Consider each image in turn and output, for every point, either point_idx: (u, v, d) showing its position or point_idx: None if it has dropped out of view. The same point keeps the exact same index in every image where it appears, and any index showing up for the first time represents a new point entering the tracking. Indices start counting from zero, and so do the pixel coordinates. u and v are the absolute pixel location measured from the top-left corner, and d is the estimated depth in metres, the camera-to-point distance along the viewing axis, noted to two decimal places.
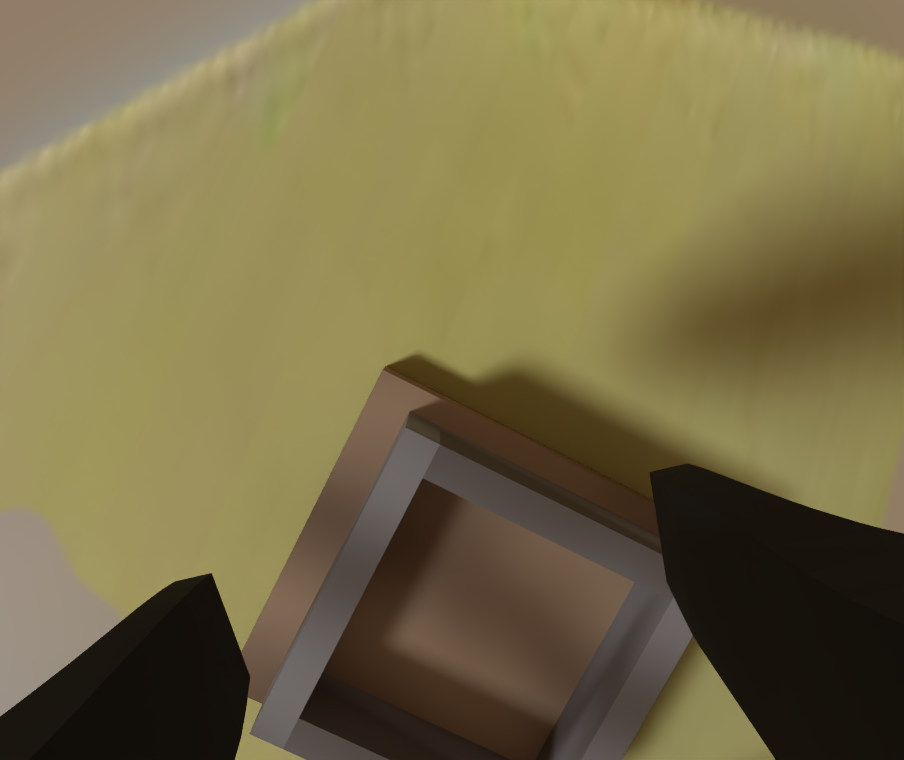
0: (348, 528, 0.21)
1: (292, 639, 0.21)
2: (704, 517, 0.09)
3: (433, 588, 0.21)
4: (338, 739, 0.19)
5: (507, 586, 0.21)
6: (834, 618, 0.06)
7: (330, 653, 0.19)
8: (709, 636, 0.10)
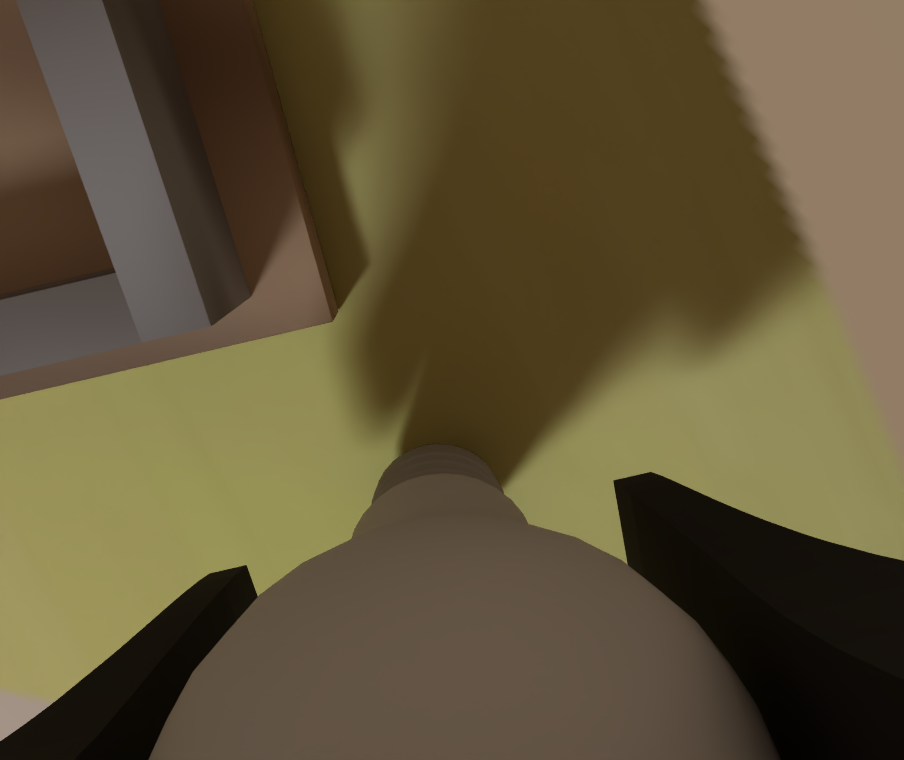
0: None
1: None
2: (660, 528, 0.09)
3: None
4: None
5: None
6: (770, 633, 0.06)
7: None
8: None
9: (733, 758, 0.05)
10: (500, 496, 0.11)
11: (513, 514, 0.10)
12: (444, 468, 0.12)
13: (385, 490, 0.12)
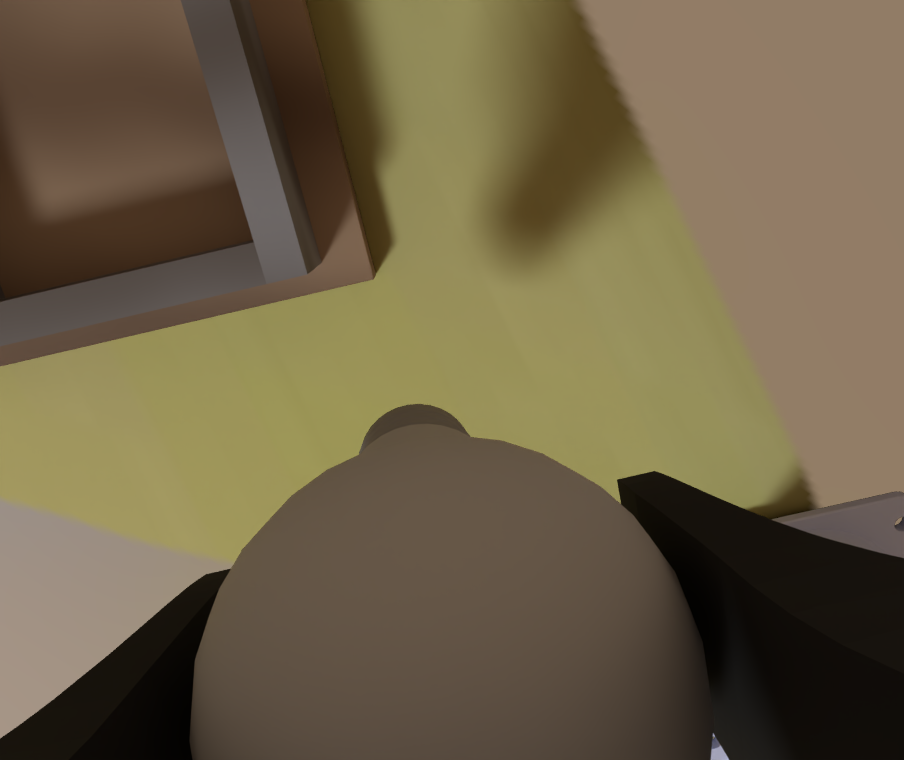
0: None
1: None
2: (664, 526, 0.09)
3: (22, 128, 0.18)
4: None
5: (83, 65, 0.17)
6: (777, 631, 0.06)
7: None
8: None
9: (654, 591, 0.07)
10: None
11: None
12: (426, 421, 0.14)
13: (374, 440, 0.14)
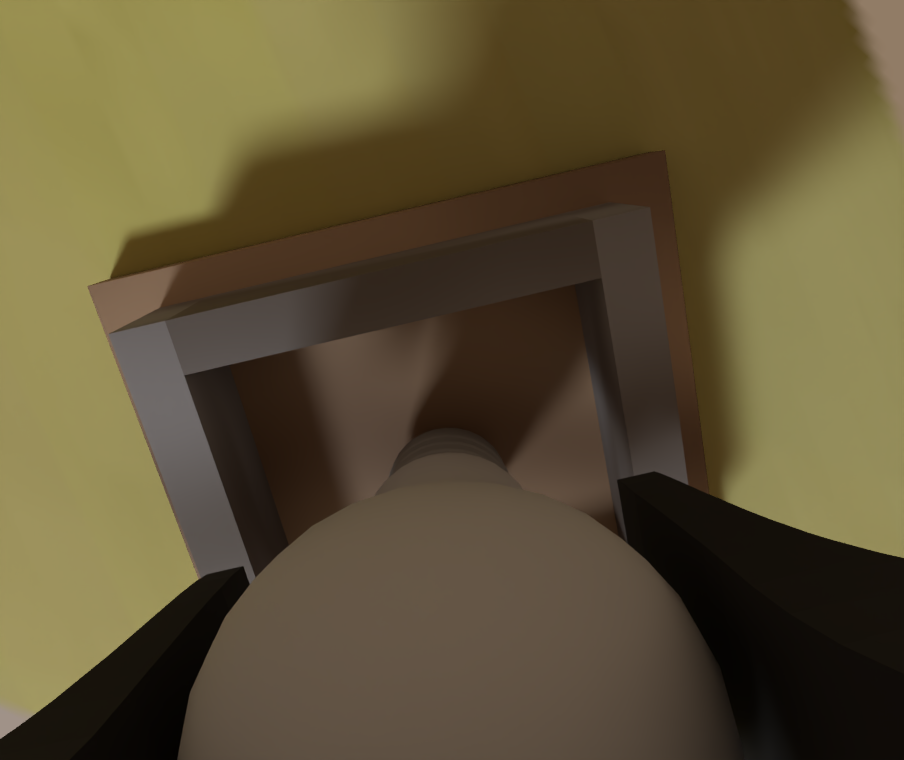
0: None
1: None
2: (664, 527, 0.09)
3: (361, 472, 0.16)
4: None
5: (437, 408, 0.15)
6: (777, 631, 0.06)
7: None
8: None
9: (660, 661, 0.06)
10: (498, 470, 0.12)
11: (509, 485, 0.12)
12: (449, 448, 0.13)
13: (397, 471, 0.13)
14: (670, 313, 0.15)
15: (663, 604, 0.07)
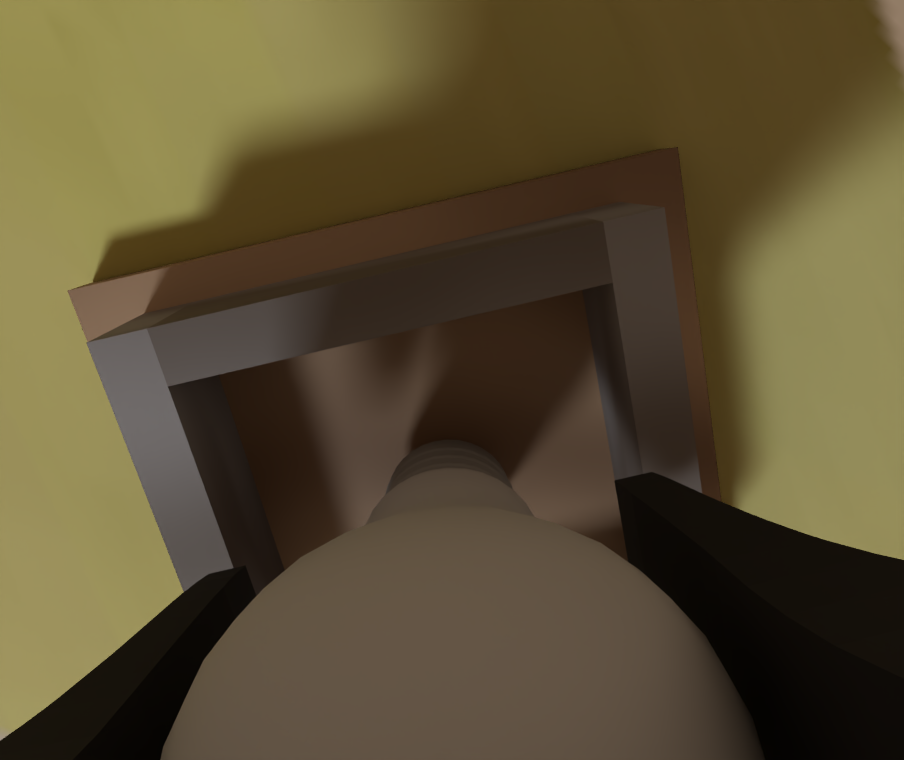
0: None
1: None
2: (661, 527, 0.09)
3: (357, 485, 0.15)
4: None
5: (437, 418, 0.14)
6: (772, 632, 0.06)
7: None
8: None
9: (692, 721, 0.05)
10: (502, 487, 0.11)
11: (514, 504, 0.11)
12: (449, 463, 0.12)
13: (394, 486, 0.13)
14: (682, 319, 0.14)
15: (691, 651, 0.06)
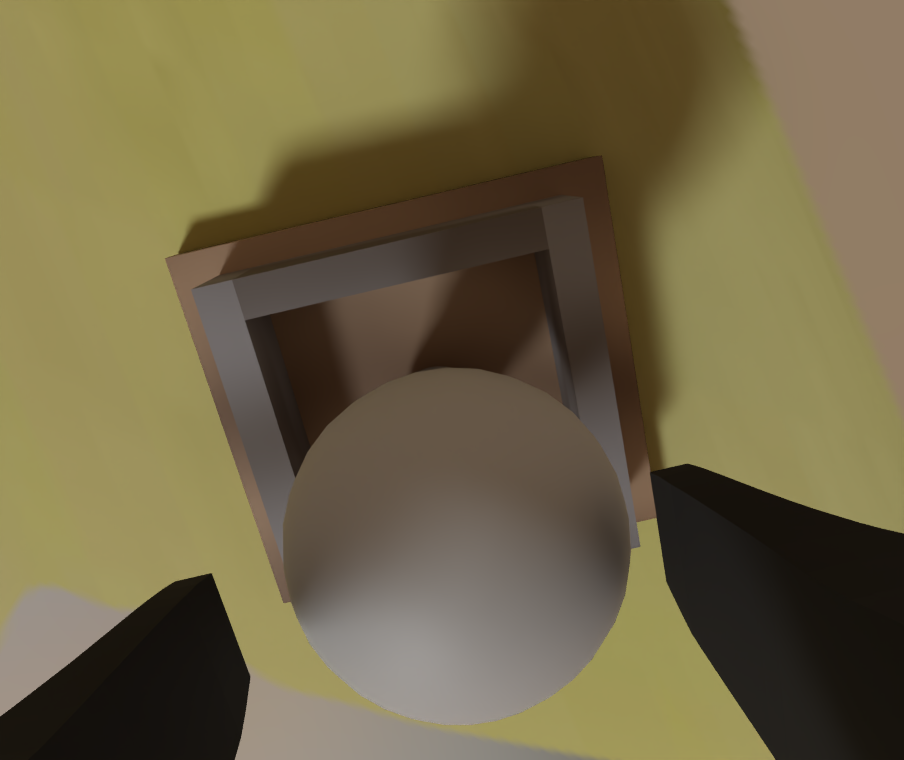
0: None
1: None
2: (705, 517, 0.09)
3: None
4: None
5: (430, 354, 0.20)
6: (835, 618, 0.06)
7: None
8: (709, 636, 0.10)
9: (573, 449, 0.11)
10: None
11: None
12: None
13: None
14: (609, 280, 0.19)
15: (579, 428, 0.12)
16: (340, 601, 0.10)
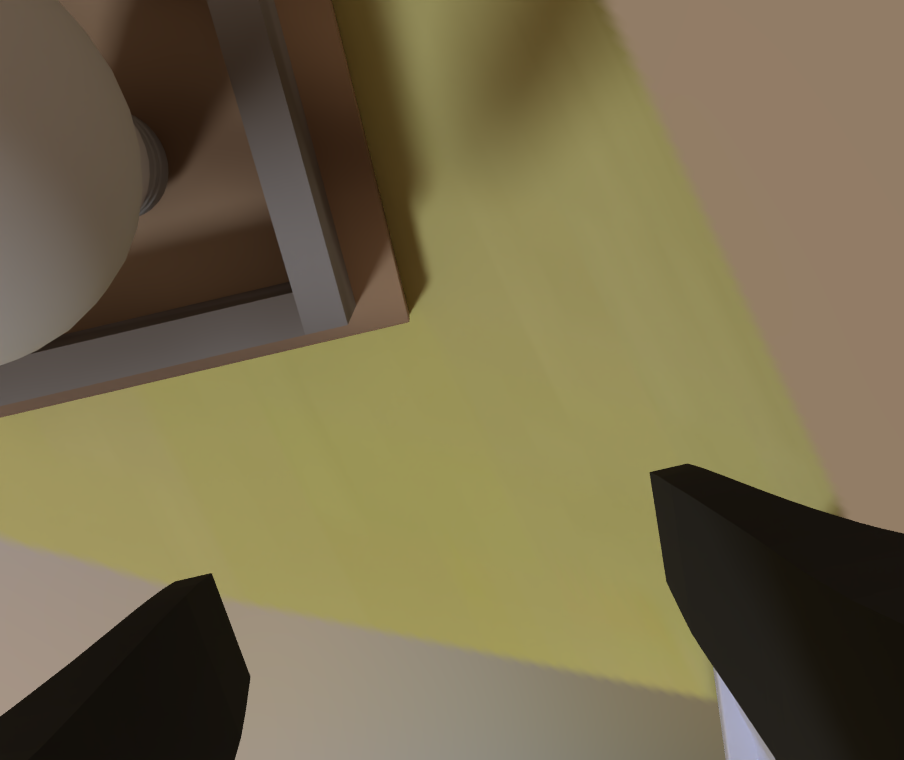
0: None
1: None
2: (704, 518, 0.09)
3: None
4: (22, 358, 0.16)
5: None
6: (834, 618, 0.06)
7: None
8: (709, 636, 0.10)
9: None
10: None
11: None
12: None
13: None
14: (318, 12, 0.16)
15: None
16: None
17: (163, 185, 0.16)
